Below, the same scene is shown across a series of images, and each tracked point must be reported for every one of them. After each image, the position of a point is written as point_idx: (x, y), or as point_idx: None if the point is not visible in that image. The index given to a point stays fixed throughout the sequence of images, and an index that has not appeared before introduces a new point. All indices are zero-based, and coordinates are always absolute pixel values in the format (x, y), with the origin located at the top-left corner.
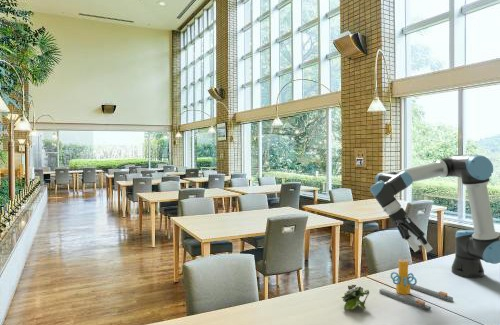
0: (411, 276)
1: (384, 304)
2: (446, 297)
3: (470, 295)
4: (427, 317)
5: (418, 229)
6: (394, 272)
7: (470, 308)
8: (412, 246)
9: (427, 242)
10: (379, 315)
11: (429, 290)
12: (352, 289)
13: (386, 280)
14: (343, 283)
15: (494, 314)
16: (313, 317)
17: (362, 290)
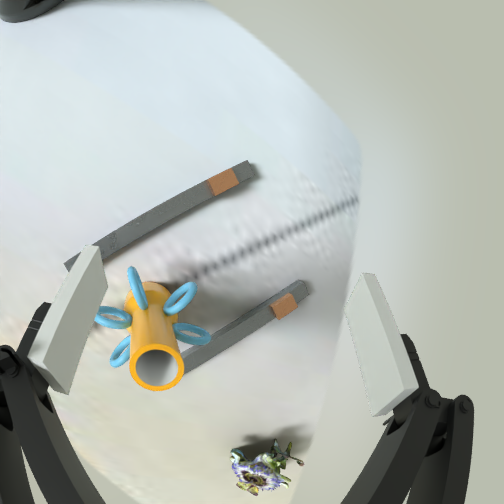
0: (183, 307)
1: (244, 393)
2: (241, 181)
3: (208, 73)
4: (331, 308)
5: (461, 464)
6: (124, 362)
7: (300, 149)
8: (89, 319)
9: (409, 338)
10: (300, 411)
11: (171, 208)
12: (273, 486)
13: (30, 314)
14: (84, 451)
15: (337, 117)
16: (283, 497)
17: (270, 467)
